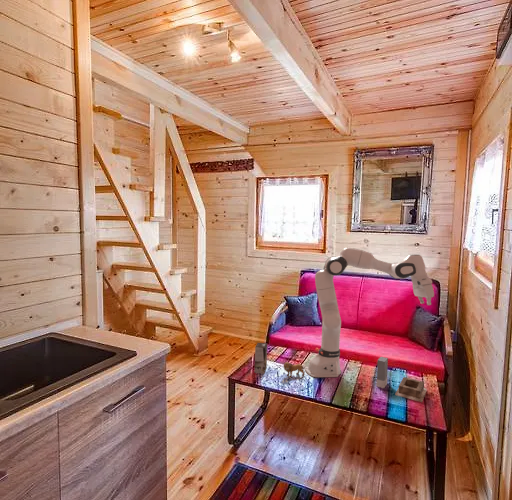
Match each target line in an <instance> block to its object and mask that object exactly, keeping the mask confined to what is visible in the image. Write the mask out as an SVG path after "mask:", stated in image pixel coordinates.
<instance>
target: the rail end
mask: <svg viewBox="0 0 512 500" xmlns="http://www.w3.org/2000/svg"><path fill="white" fill-rule="evenodd" d="M388 362H389V357H384V356H380V357H378V359H377V366H376V367H377V369H376V370H377V371H376V380H375V381H376V383H375V384H376V385H375V386H376V387H378V388H382V389H386V386H387V385H388V365H389V363H388Z"/></svg>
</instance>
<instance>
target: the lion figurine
mask: <svg viewBox="0 0 512 500" xmlns="http://www.w3.org/2000/svg"><path fill="white" fill-rule="evenodd" d="M303 366H304V365H302V364H300V363H297V364H292V363H291V362H289V361H285V362H284V363H283V369H284V371H285V372H286V373H287V374H286V376H289V378H292V377H293V372H296V371H297V372H296V373H295V374H296V375H299V374H300V373H302V374H301V376H302V377H304V376H305V373H306V371H305V368H304V367H303Z"/></svg>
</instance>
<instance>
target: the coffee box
mask: <svg viewBox="0 0 512 500" xmlns="http://www.w3.org/2000/svg"><path fill="white" fill-rule="evenodd" d="M267 366H268V343H267V342H257V344H255V348H254V373H255V374H265V373H266V370H267V368H268V367H267Z"/></svg>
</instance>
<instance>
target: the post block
mask: <svg viewBox="0 0 512 500" xmlns="http://www.w3.org/2000/svg"><path fill="white" fill-rule="evenodd" d="M424 385H425V382H424V381H422V380H417V379H414V378H410V377H405V376H403V377H402V380H401V381H400V382H399V384H398V388H397V390H396V392H395V394H394V395H395V396H398V397H401V398H406V399H409V400H413V401H416V402H419V403H423V402H424V401H423V400H424V398H425V396H426V393H427V390H428V389H427V388H425V386H424Z"/></svg>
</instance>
